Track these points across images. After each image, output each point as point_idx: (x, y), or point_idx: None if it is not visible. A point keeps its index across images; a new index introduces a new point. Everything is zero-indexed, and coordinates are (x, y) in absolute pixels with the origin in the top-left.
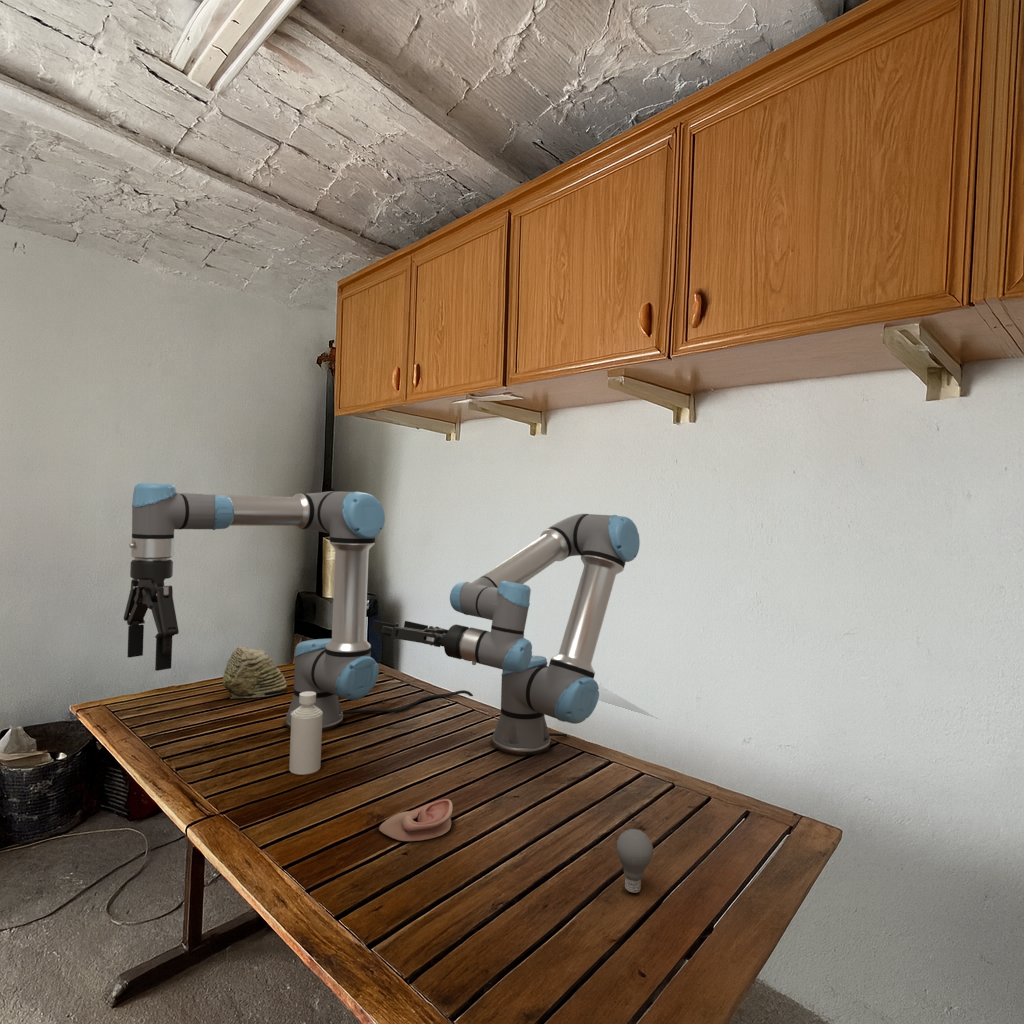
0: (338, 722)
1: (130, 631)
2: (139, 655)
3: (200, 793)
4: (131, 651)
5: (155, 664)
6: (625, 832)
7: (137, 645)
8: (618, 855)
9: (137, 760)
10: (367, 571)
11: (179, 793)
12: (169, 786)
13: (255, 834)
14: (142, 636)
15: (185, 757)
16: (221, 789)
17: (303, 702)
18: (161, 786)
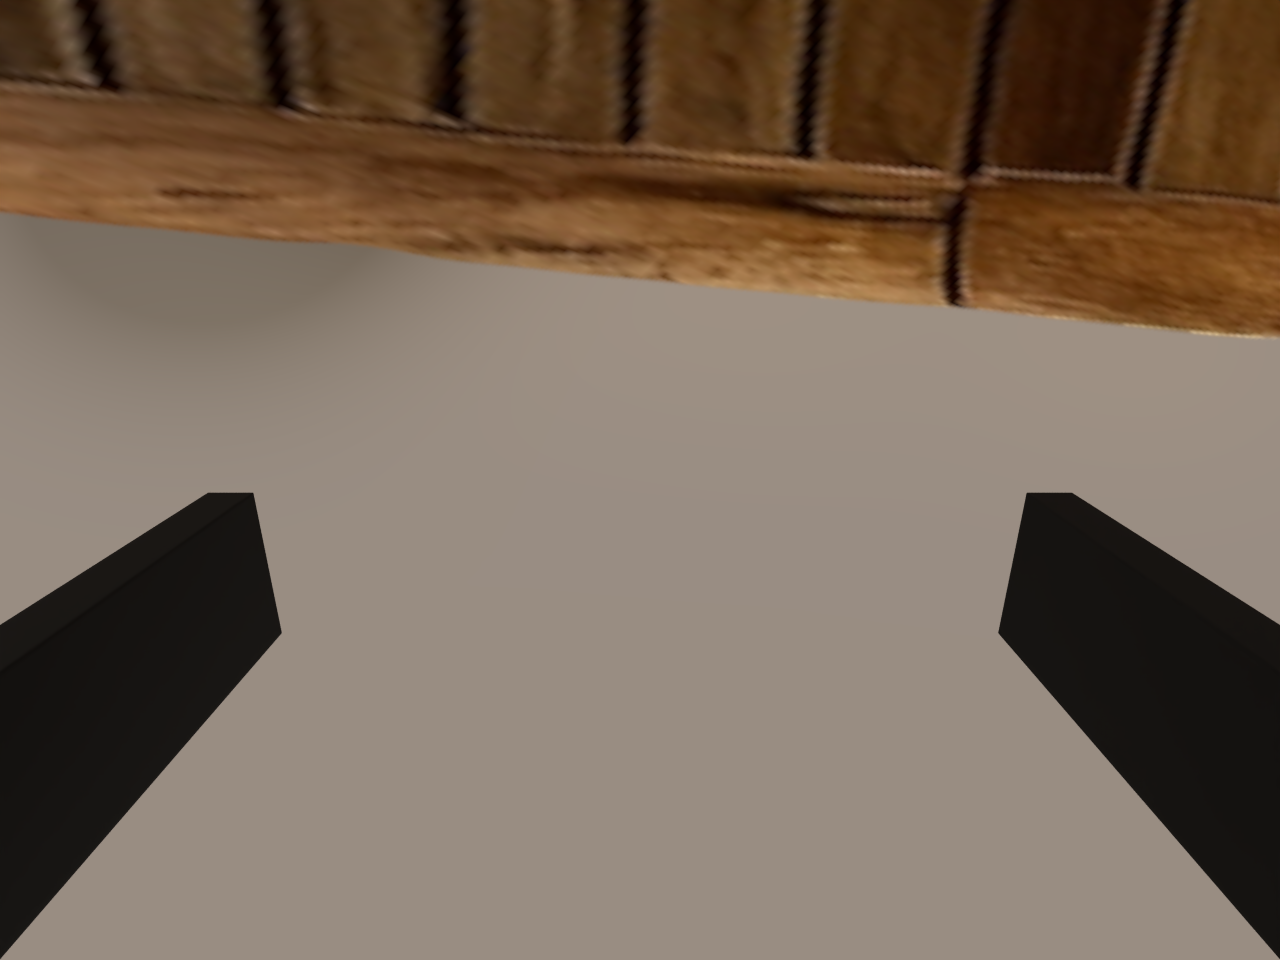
0: None
1: (36, 904)
2: (257, 531)
3: (754, 151)
4: (243, 651)
5: (1035, 670)
6: None
7: (184, 625)
8: None
9: (241, 201)
10: None
11: (692, 214)
12: (601, 215)
13: (1209, 164)
14: (70, 639)
15: (332, 13)
16: (785, 64)
17: None
18: (579, 238)
